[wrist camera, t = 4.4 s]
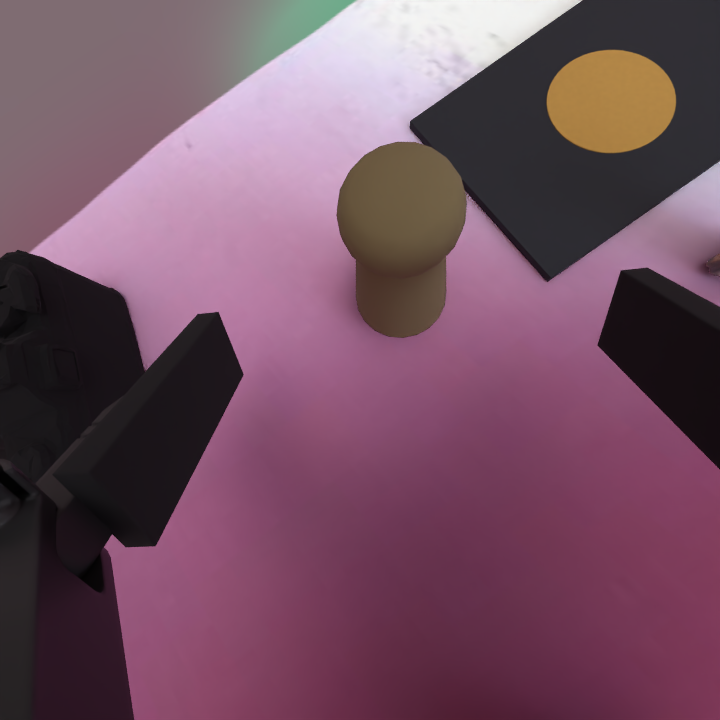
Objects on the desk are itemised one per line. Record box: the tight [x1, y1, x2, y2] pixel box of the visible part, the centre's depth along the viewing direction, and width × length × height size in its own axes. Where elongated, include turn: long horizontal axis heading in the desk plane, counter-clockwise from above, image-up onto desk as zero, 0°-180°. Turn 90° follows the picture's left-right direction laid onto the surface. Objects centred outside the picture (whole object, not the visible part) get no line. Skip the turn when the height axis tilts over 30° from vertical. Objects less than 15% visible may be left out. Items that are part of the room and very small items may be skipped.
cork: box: [337, 142, 467, 338], centre depth 18 cm, size 6×6×11 cm
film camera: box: [0, 250, 145, 484], centre depth 20 cm, size 15×10×9 cm, turn 20°
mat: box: [410, 0, 720, 281], centre depth 23 cm, size 15×22×1 cm
